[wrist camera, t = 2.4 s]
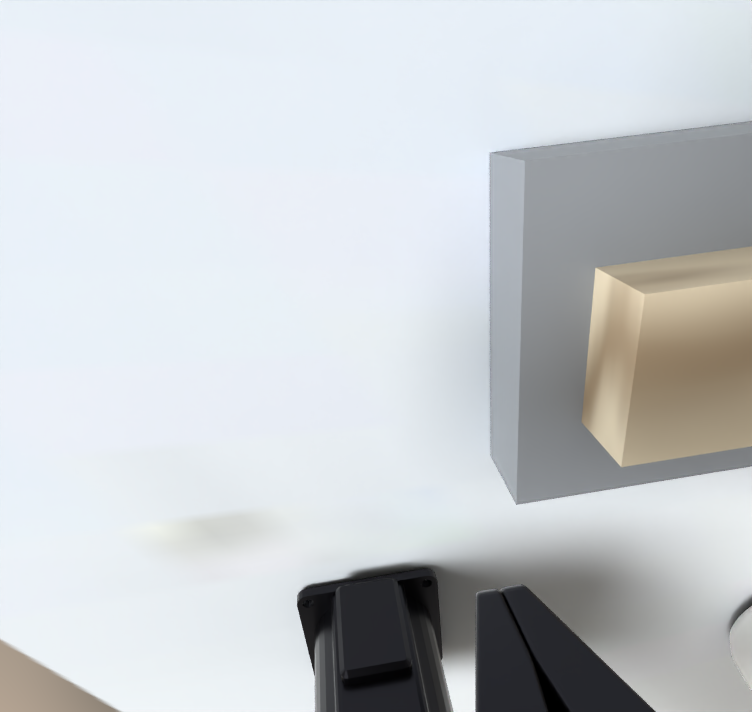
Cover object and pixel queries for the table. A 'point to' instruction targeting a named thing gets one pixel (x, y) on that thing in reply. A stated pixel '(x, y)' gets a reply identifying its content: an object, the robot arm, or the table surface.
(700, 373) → the tile
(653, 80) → the table surface
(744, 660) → the plastic bottle
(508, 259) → the plate
